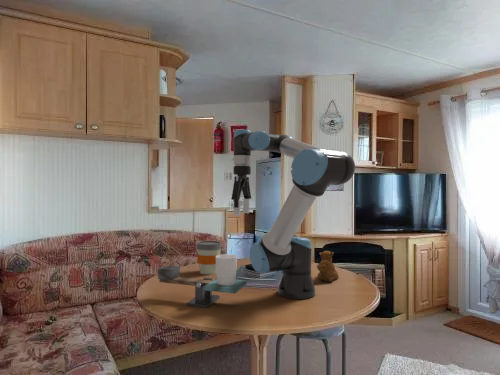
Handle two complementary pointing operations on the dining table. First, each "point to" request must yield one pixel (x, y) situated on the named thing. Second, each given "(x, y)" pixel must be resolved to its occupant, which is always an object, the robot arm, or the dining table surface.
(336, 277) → the stuffed squirrel
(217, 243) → the reusable coffee cup
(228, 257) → the white cup
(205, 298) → the beam stand
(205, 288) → the balance beam
